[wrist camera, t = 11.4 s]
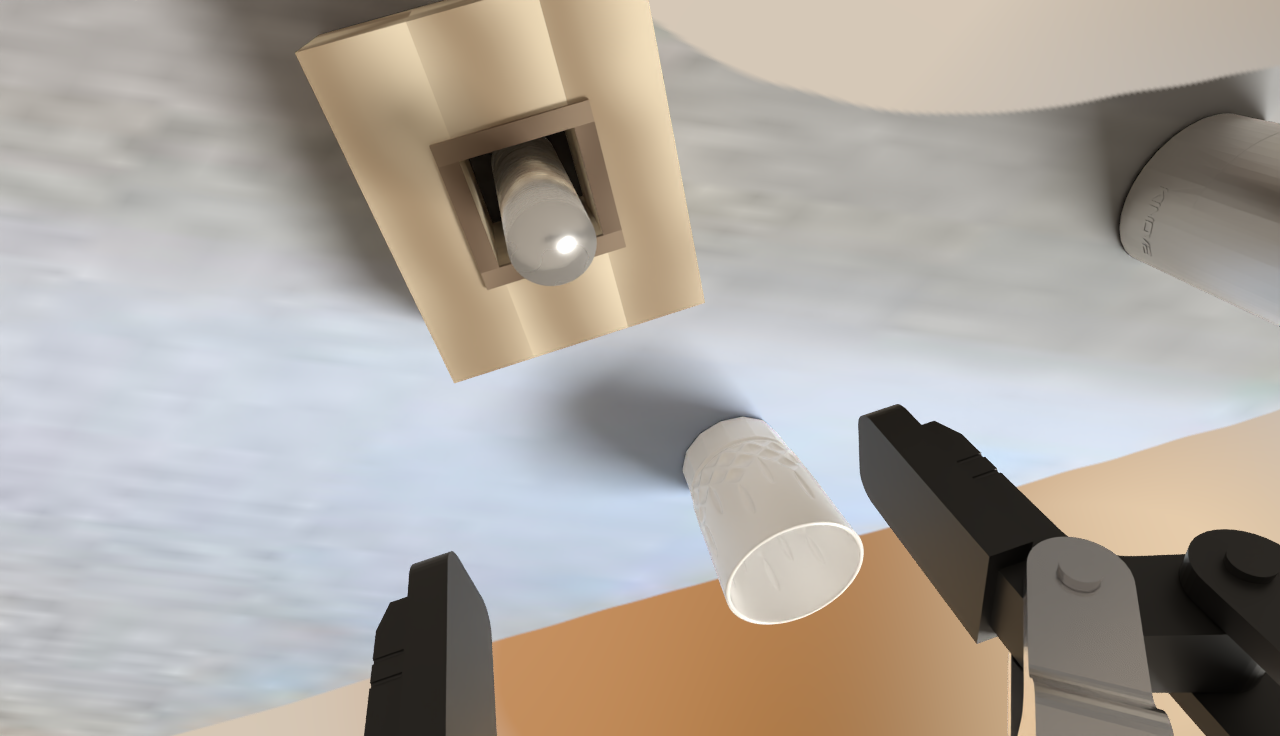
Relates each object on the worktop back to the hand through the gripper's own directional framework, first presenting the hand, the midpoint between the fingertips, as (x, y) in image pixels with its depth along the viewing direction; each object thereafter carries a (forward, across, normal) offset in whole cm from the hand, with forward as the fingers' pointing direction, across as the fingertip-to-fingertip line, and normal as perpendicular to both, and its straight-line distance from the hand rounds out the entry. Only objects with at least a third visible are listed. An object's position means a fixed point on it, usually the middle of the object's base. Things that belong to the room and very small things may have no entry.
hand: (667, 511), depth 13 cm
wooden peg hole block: (+22, +1, -1) cm, 22 cm away
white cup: (+22, -6, +21) cm, 32 cm away
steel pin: (+22, +1, -1) cm, 22 cm away
